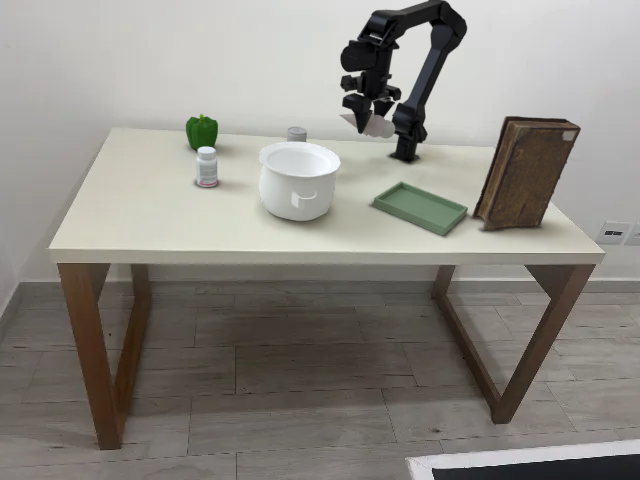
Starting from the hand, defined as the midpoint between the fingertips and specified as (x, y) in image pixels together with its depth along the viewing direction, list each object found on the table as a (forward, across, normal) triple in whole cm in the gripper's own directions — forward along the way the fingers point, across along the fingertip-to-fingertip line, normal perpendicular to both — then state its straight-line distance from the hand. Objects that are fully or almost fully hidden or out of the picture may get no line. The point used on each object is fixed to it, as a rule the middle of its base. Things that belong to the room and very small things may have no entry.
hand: (367, 130), depth 128 cm
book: (+11, -2, +40) cm, 42 cm away
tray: (+11, +8, +22) cm, 26 cm away
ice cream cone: (+1, +1, 0) cm, 2 cm away
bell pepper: (+11, +24, -36) cm, 45 cm away
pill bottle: (+11, +37, -20) cm, 43 cm away
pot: (+11, +30, +2) cm, 32 cm away
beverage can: (+11, +17, -9) cm, 23 cm away
